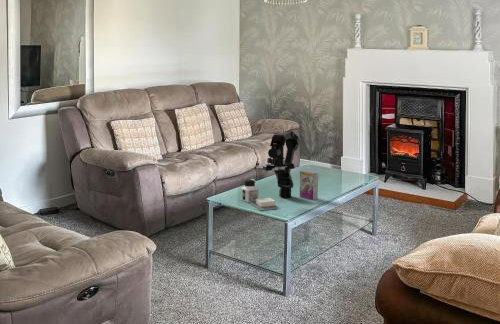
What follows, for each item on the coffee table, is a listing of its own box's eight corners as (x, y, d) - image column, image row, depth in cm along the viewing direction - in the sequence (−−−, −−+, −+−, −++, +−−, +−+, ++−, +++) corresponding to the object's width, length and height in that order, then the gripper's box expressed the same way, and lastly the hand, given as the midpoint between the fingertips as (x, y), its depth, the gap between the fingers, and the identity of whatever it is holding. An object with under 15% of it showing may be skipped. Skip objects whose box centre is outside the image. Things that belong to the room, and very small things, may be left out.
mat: (264, 201, 359) (264, 200, 358) (276, 209, 342) (276, 208, 342) (248, 203, 355) (248, 202, 355) (260, 210, 338) (260, 210, 338)
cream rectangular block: (269, 197, 354) (256, 199, 350) (275, 200, 346) (261, 202, 343) (269, 202, 354) (256, 203, 351) (275, 205, 347) (261, 207, 344)
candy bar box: (299, 196, 369) (299, 171, 366) (304, 195, 373) (304, 170, 369) (312, 200, 361) (313, 174, 358) (317, 198, 365) (318, 173, 361)
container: (248, 202, 356) (248, 181, 353) (241, 199, 362) (241, 179, 360) (258, 200, 361) (258, 179, 358) (251, 197, 367) (251, 177, 364)
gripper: (287, 151, 363) (286, 176, 367) (259, 153, 357) (259, 179, 360) (295, 155, 353) (294, 180, 356) (266, 157, 347) (266, 183, 350)
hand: (278, 180), depth 356 cm, fingers closed
